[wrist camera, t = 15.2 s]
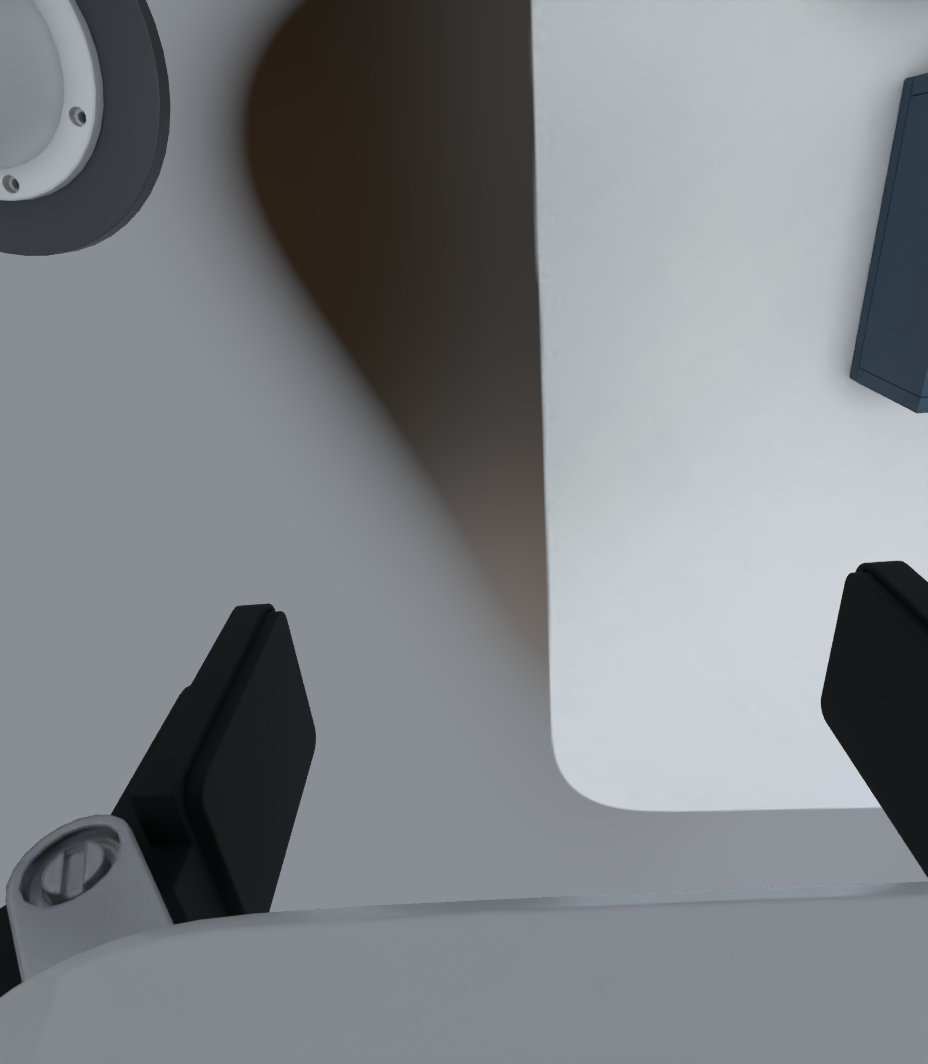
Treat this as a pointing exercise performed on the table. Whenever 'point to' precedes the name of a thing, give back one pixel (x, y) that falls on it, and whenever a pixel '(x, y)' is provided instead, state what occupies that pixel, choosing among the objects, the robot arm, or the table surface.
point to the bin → (900, 267)
